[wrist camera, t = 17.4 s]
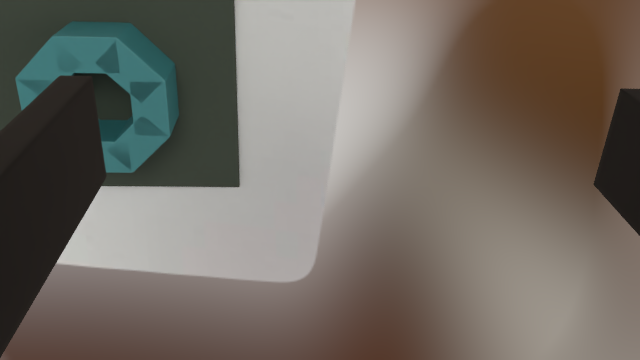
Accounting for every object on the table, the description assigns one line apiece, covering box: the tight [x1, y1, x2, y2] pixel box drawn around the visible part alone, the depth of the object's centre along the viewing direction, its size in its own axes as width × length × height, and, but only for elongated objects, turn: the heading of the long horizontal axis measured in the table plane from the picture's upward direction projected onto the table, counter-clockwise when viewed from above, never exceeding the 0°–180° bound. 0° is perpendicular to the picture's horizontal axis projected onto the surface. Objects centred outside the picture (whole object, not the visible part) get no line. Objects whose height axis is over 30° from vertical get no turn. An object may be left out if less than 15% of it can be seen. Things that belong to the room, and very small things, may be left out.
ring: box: [15, 21, 179, 173], centre depth 42 cm, size 10×10×4 cm
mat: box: [0, 0, 239, 187], centre depth 44 cm, size 18×16×1 cm
